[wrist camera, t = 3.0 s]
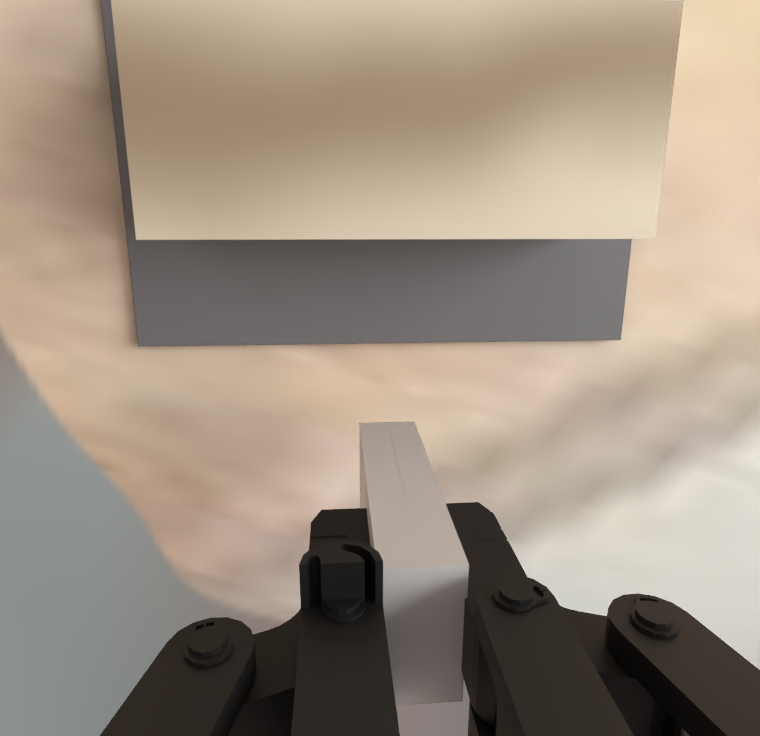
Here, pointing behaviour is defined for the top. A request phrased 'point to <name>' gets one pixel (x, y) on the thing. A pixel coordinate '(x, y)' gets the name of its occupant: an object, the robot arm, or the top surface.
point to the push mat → (366, 283)
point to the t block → (396, 117)
